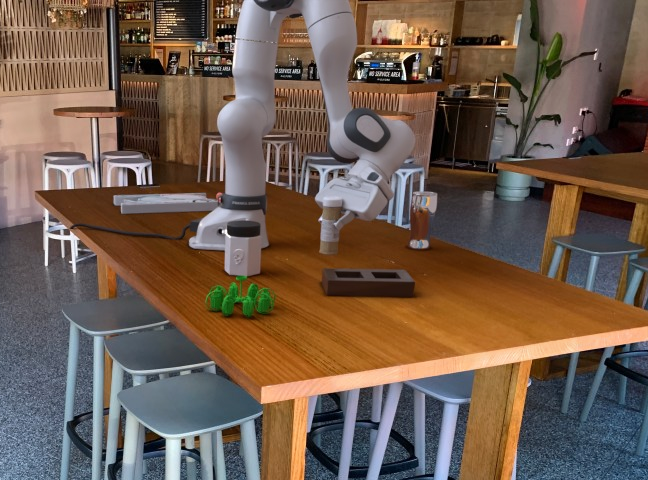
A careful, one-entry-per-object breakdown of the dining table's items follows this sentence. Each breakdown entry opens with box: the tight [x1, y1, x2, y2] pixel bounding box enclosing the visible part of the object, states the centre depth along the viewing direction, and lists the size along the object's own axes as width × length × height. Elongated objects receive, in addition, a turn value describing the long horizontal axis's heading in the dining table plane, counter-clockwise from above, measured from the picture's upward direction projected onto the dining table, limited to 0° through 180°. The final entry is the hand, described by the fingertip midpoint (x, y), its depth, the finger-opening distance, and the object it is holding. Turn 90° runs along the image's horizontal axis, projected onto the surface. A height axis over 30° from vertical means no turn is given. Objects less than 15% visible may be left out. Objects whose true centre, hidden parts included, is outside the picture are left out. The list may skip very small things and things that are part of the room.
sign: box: [113, 192, 219, 215], centre depth 278 cm, size 34×3×20 cm
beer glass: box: [407, 190, 438, 251], centre depth 218 cm, size 7×7×15 cm
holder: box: [321, 267, 416, 298], centre depth 180 cm, size 11×19×4 cm, turn 88°
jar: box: [224, 220, 262, 278], centre depth 192 cm, size 9×8×12 cm
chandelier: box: [205, 276, 276, 318], centre depth 164 cm, size 15×15×7 cm
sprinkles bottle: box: [318, 196, 342, 256], centre depth 189 cm, size 5×5×13 cm
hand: (328, 225), depth 189 cm, fingers closed on sprinkles bottle, 4 cm apart
